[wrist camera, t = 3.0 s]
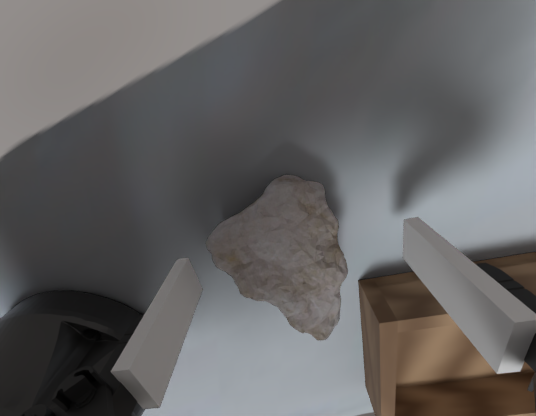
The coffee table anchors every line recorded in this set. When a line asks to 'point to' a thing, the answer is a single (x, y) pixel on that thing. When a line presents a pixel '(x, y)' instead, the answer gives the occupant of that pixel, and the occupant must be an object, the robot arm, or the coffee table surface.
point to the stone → (286, 254)
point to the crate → (435, 352)
